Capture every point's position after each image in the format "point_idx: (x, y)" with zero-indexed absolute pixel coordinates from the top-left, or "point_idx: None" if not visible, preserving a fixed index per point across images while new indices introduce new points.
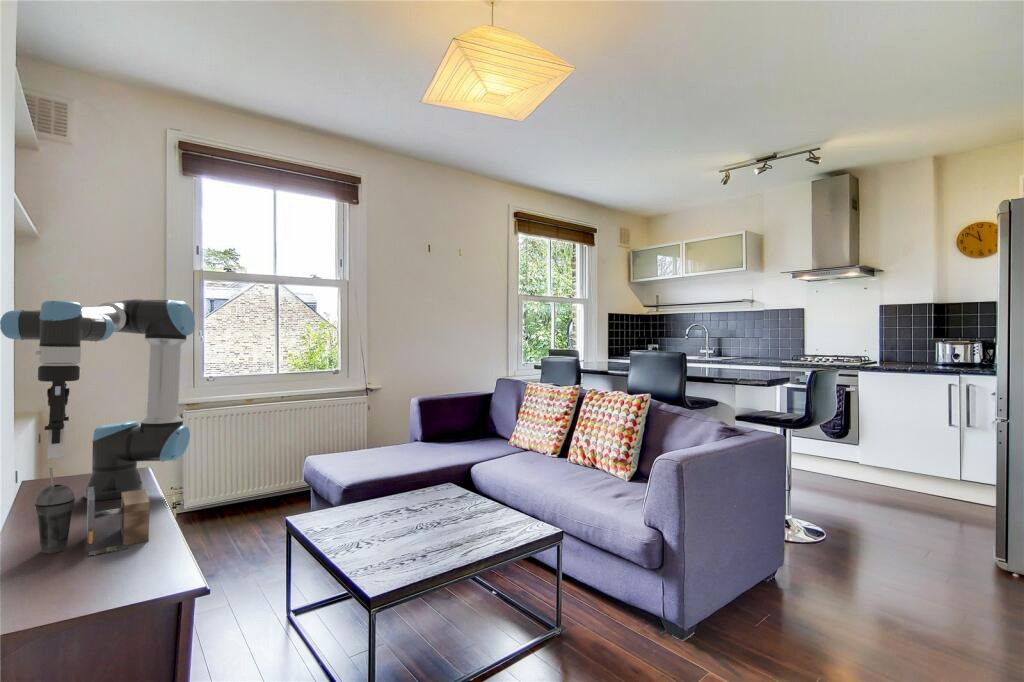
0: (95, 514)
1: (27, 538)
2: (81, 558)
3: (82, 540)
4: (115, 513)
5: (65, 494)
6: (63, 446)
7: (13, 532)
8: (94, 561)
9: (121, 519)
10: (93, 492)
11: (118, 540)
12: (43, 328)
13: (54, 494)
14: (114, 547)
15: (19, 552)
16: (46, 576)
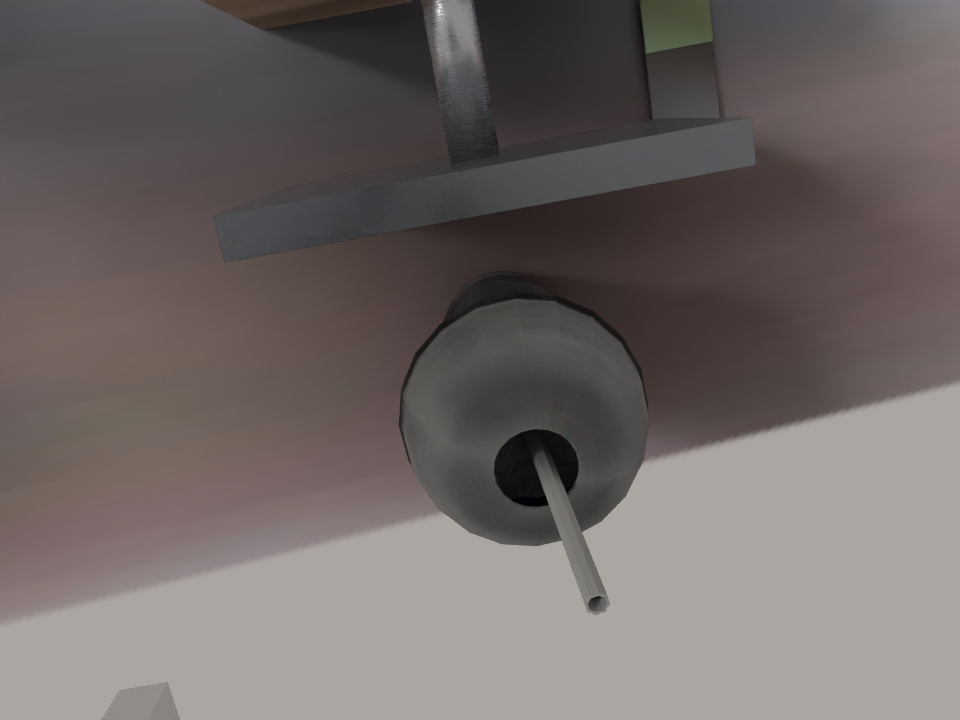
0: (495, 144)
1: (228, 494)
2: None
3: None
4: (475, 13)
5: (611, 362)
6: (163, 705)
7: (84, 584)
8: (816, 84)
9: (322, 4)
10: (469, 176)
11: (498, 9)
12: None
13: (640, 435)
14: (664, 7)
15: None
16: (906, 266)
